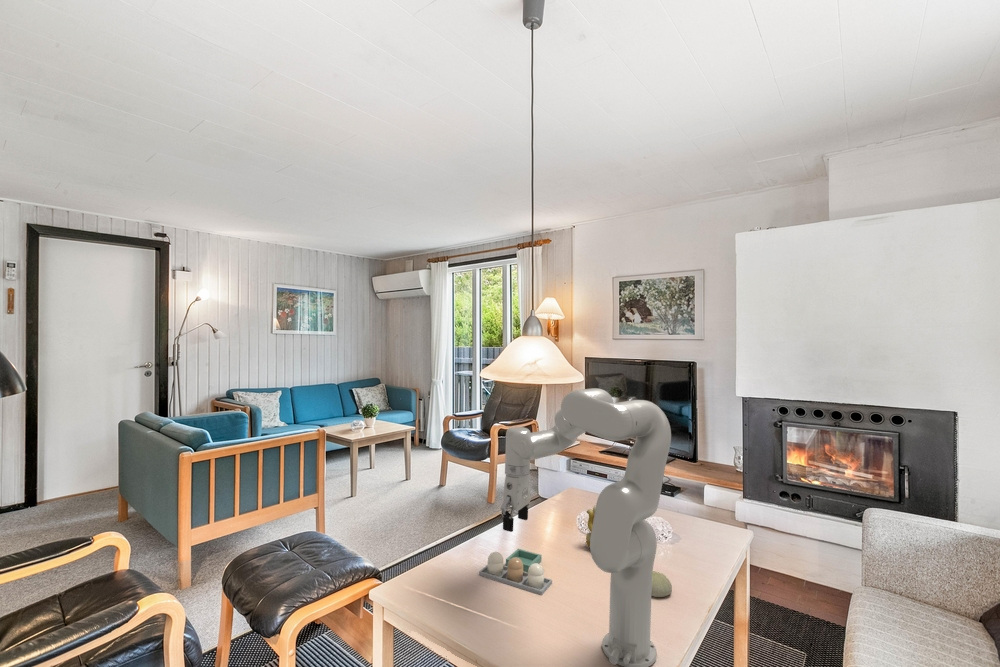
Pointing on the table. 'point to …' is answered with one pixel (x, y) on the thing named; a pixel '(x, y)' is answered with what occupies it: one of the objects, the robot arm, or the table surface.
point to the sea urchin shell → (660, 585)
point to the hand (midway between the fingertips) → (515, 524)
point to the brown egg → (515, 570)
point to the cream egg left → (495, 564)
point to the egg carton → (520, 585)
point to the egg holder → (525, 558)
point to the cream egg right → (536, 576)
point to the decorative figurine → (590, 524)
